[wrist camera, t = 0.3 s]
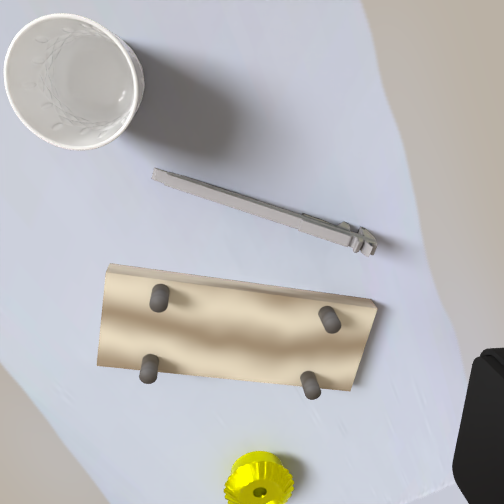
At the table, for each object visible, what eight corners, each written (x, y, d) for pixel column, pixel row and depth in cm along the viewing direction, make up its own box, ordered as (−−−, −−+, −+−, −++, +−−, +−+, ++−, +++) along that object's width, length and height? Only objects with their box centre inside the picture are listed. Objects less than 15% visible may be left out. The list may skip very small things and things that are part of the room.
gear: (284, 496, 58) (295, 445, 55) (289, 523, 54) (302, 470, 51) (219, 495, 57) (227, 443, 54) (220, 523, 53) (229, 469, 50)
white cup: (99, 1, 36) (65, -19, 27) (172, 84, 39) (164, 92, 30) (29, 73, 37) (-26, 78, 28) (105, 148, 40) (77, 175, 31)
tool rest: (109, 263, 44) (100, 284, 40) (370, 299, 48) (387, 321, 44) (100, 353, 47) (91, 382, 43) (344, 379, 52) (357, 407, 48)
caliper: (364, 226, 46) (388, 250, 40) (360, 236, 46) (383, 261, 40) (154, 166, 41) (147, 183, 36) (151, 178, 42) (144, 197, 36)
